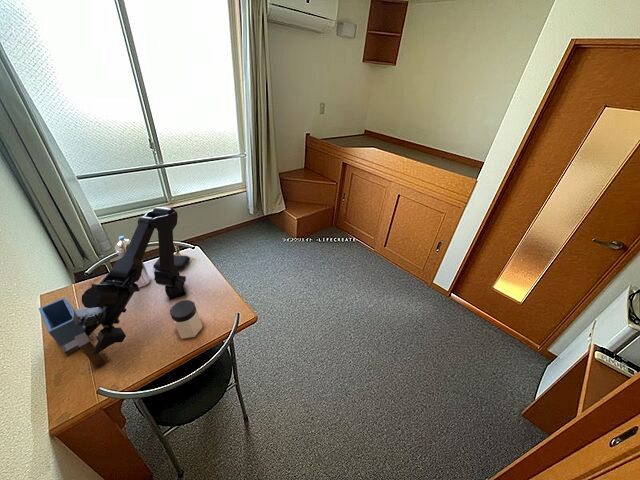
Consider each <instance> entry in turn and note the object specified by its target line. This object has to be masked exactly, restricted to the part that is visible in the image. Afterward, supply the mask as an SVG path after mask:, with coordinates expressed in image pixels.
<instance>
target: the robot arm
mask: <svg viewBox="0 0 640 480" xmlns="http://www.w3.org/2000/svg"><path fill="white" fill-rule="evenodd" d="M178 219H179V215H178V212H177V211H176V210H175V209H174V208H168V207H161V206H156V207H154V208H153V209H152V210H149V211H146V212H145V213H144V215H143V216H141V217H139V218H138V219H137V225H136V227H135V230H134V233H133V235H132V237H131V239H130V240H131V241H130V244H129V246H128V248H127V250H126V253H125V254H124V256H123V257H121V258H120V257H119V258H118V259H117V260H116V261H115V263H114V265H113V266H112V267H111V269H110V271H109V272H108V273H107V274H106V275H105V277H103V278H102V280H101V281H100V282H99V283H92V284H91V286H90V287H89V288H87V289H86V290H85V291H84V292H83V294H82V295H81V303H82V305H83V306H84V307H79V308H78V307H77V308H75V309H74V318H73V320H74V321H75V323H76V325H77V326H85V329H84V332H85V333H86V334H87V335H88V336H89V335H90V336H91V335H92V334H93V333H94V331H95V330H97V329H98V327H99V326H100V325H101V326H102V328H101V329H99V331H98V333H97V335H96V336H95V338H96V340H97V343H96V344H95V346H96V347H95V349H94V351H93V353H92V355H97V354H99V353H101V352H103V351H104V350H106V349H107V348H109V347H110V346H112V345H114V344H118V343H123V342H124V341H125V339H126V337H127V335H126V333H125V332H124V330H123V329H122V327H118V326H117V327H116V326H115V324H116V325H118V324H119V323H120V322H121V320H120V319H119V318H120V316H121V315H122V313H126V312H127V311H128V310H127V308H126V306H127V305H128V304H129V302H130V300H131V298H132V297H133V295H134V294H135V293H138V292H140V291H141V289H140V287H138V285H137V284H136V283H135V282H136V281H138V280H139V279H140V276H141V273H142V269H143V264H142V261H143V257H144V255H145V253H146V250H147V248H148V246H149V244H150V241H151V238H152V235H153V233H154V231H155V229H156V230H157V238H158V239H157V240H158V254H159V255H158V256H159V257H158V259H159V258H160V266H159V268H158V269H156V270H154V272H153V274H154V275H153V276H154V279H153V281H155V283H156V284H157V285H159V286H164V292H165V294H166V296H167V298H168V299H169V301H173V300H176V299H179V298H183V297H186V296H187V291H186V287H185V284H186V282H187V276H185V275H180V270H178V269H177V267H176V266H175V265H174V255H175V250H174V229H175V228H176V226H177V225H178Z"/></svg>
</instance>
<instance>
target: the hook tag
mask: <svg viewBox="0 0 640 480" xmlns="http://www.w3.org/2000/svg"><path fill="white" fill-rule="evenodd" d="M78 347H80V348H79V349H80V350H81V351H82V352H83V354H84V355H85V356H86V358H87V359H88V360H89V361H90V363H92V365H93V366H94V367H95V368H96V369H98V368H100V367H101V366H103V365H104V364H106V363H107V361H106V360H105V358H104V356H103V355H102V353H101V352H100V353H99V354H97V355H92V353H93V351H94V349H95V347H96V344H95V343H94V342H93V341H91V339H90V338H89V337H88V335H87V334H86V333H85V332H84V333H82V334H80V335H78V336H76V337H75V340H73V341H71V342H69V343H67V344H65V345H63V346H62V347H61V349H62V350H63V352H64V354H65V355H66V356H67V357H70V356H71V353H70V351H72V350H74V349H76V348H78Z"/></svg>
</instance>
